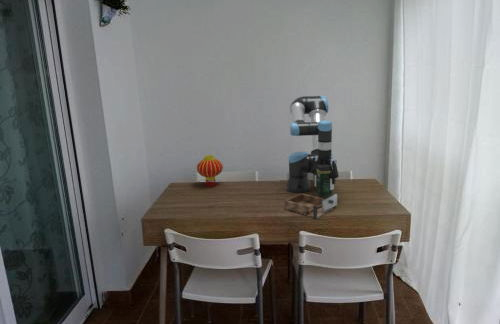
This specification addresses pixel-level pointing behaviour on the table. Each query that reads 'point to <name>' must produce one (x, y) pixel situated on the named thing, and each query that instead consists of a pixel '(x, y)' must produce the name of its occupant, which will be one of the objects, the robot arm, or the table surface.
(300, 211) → the open wooden box
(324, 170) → the coffee jar
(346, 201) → the table surface
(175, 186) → the table surface
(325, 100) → the robot arm
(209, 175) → the lantern
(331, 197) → the grey flat panel
